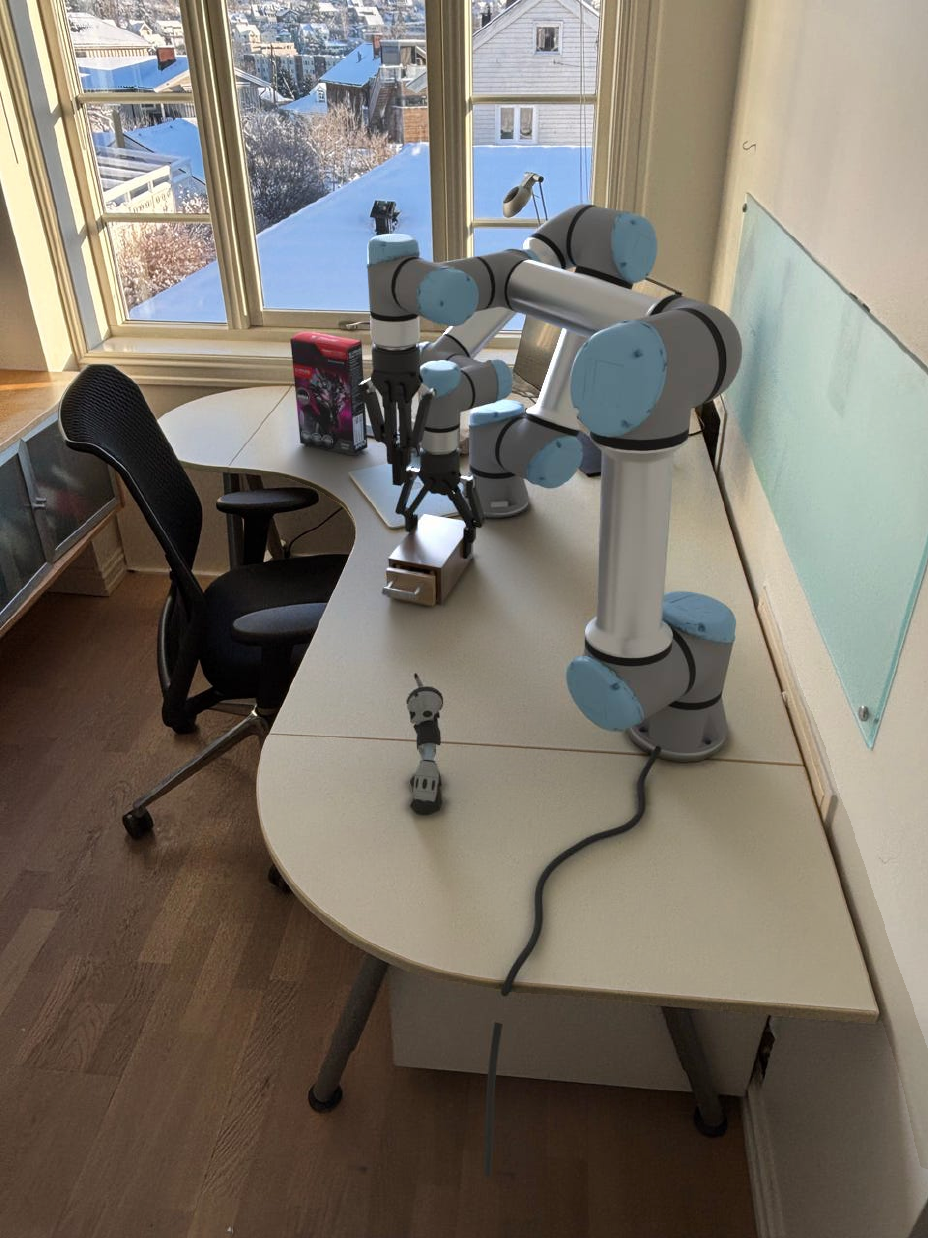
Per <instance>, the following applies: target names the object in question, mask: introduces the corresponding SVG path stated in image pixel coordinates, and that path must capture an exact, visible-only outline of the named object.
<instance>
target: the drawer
mask: <svg viewBox="0 0 928 1238" xmlns="http://www.w3.org/2000/svg"><path fill="white" fill-rule="evenodd" d="M385 575H386V578H385V579H386V586H383V587H382V589H381V594H382V596H383V595H384V596H387V598H391V599H396V600H401V601H405V602H411V603H416V604H421V605H426V606H430V607H431V606H432V607H434V606H435V605H436V604H437V603H436V593H437V571H432V570H427V569H421V568H416V567H411V566H405V565H400V564H396V568H391V567H389V566H388V567H387V568H386V569H385Z"/></svg>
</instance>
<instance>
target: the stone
mask: <svg viewBox="0 0 928 1238" xmlns="http://www.w3.org/2000/svg"><path fill="white" fill-rule="evenodd" d="M416 414H417V413H415V414H412V415H411V417H412V432H413V427H414V423H415V419H416ZM397 432H399V426H397ZM459 449H460V454H463V455H469V428H467V427H460V446H459Z"/></svg>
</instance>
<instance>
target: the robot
mask: <svg viewBox="0 0 928 1238" xmlns="http://www.w3.org/2000/svg"><path fill="white" fill-rule="evenodd" d="M413 677H414V680H415V682H416V685H417V687H416V688H415V689H413V690H412V691H411V692H410V693H408V695H407V697H406V699H405V702H406V705H407V706H406V709H407V710H408V712H409V723H410V724H411V725H412V727H413V729H414V733H416V750H417V751H418V753H419V755H420V761H419V764H418V767H417V768H416V771H415V773H414V774H413V775H412V777H411V778H410V781H409V783H410V785H411V787H412V789H413V790H412V791H413V792H412V793H413V798H412V800H411V802H410V805H409V807H410V808H411V810H413V811H414V812H415V813H416V814H419V815H423V816H424V815H431V814H432V813H435V812H437V811H439V810H440V809H441V806H442V803H443V798H442V796H443V795H442V792H441V789H440V787H441V786H442V777H441V773H440V770H439V766H438V763H437V762H436V760H435V757H436V755H437V746H441V743H442V737H441V730H440V726H439V719H440V718H441V716H440V711H441V710H442V709H443V708H444V707H443V706H444V696H443V695H442V692H441V691H439V690H438V688H435V687H433V686H431V685H424V684H423V682H422V680H421V678H420V677H419V675H418V673H414V674H413Z"/></svg>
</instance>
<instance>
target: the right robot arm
mask: <svg viewBox="0 0 928 1238" xmlns="http://www.w3.org/2000/svg"><path fill="white" fill-rule="evenodd" d="M420 254H421V252H420V247H419V242H418V240H417V239H416V238H415V237H414V236H412V235H409V234H404V233H386V234H385V233H384V234H379V235H376V236H373V237H372V238H371V239H370V240H368V243H367V264H366V269H367V284H368V303H369V314H370V315H369V318H370V323H369V324H370V341H371V342H372V344H371V365H372V372H371V373H370V378H368V379H364V381H363V382H362V383H361V384H359V385H358V390H359V392H360V393H361V395H362V396H363V398H364V401H365V409H366V411H367V415H368V419H369V423H370V426H371V430H372V434H373V437H374V440H375V441H376V442H377V443H382V444H384V445H385V447H386V449H385V450H386V463H387V464H388V465H391V475H392V476H391V477H392V485H393V486H398V487H402V486H403V485H404V482H405V481H406V480H407V469H408V468H409V466H410V465H411V463H412V448H416V447H418V446H419V443H420V442H421V441H422V438H423V434H424V430H425V425H426V421H427V417H428V413H429V408H430V404H431V401H432V400H433V399H434V397H435V396H436V394H437V391H436V389H434V388H432V389H429V388H428V387H427V386H426V385H425V384H423V378H422V376H421V374H420V345H419V344H420V343H419V342H420V339H421V337H420V336H421V335H420V333H421V331H420V330H421V329H420V323H421V322H420V321H421V320H420V317H422V318H424V319H426V320H428V321H430V322H432V323H434V324H438V325H443V326H447V327H450V326H459V325H462V324H464V323H465V322H466V321H467V320H468V319H469V318H470V317H471V316H472V315H473V314H474V312H477V311H481V310H486V309H491V308H495V307H504V308H507V309H509V310H512V311H515V312H518V313H517V314H521V315H525V316H528V317H530V318H533V319H535V320H538V321H541V322H543V323H547V324H548V325H551V326H555V327H557V328H560V329H562V330H563V329H565V330H568V331H571V332H573V333H576V334H579V335H581V336H584V337H587V338H589V339H588V341H587V342H586V343H584V344H583V346H582V347H581V348H580V350H579V352H578V353H577V356H576V358H575V360H574V363H573V366H572V370H571V376H570V395H571V400H572V404H573V407H574V408H577V409H578V410H579V412H578V414H577V419H578V420H579V421H580V423H581V424H582V425H583V426H584V427H585V428H586V429H587V430H588V431H589V440H590V441H591V442H592V443H593V444H594V445H595V447H597V448H598V449H599V450H600V452H601V464H600V467H601V468H600V469H601V470H600V496H599V498H600V499H599V501H600V502H599V529H598V530H599V531H598V532H599V533H598V560H597V561H598V562H597V563H598V567H597V591H596V592H597V593H596V595H597V597H596V616H595V617H594V618H592V619H591V620H590V621H589V622H588V623H587V624H586V626H585V629H584V647H583V648H584V649H583V654H581V655H577V656H576V657H575V658H573V660H572V661H571V662H570V663H569V664H568V665H567V668H566V673H565V679H566V685H567V689H568V692H569V694H570V696H571V698H572V700H573V703H575V705H576V706H577V707H578V709H579V711H580V712H581V713H582V714H583V715H584V716H585V718H587V719H588V721H590V722H591V723H593V724H594V725H595V726H597V727H598V728H600V729H602V730H605V731H607V732H612V733H618V732H624V731H626V732H627V734H628V736H629V738H630V739H631V741H632V742H634V744H636V745H637V746H638V747H639V748H640V749H641V750H643V751H645V752H646V753H648V754H650V756H649V759H648V760H647V761H646V763H645V765H644V767H643V768H642V769H641V772H640V774H639V777H638V780H637V785H636V786H637V787H636V788H637V798H638V801H637V802H638V807H637V808H638V809H637V811H636V813H635V815H634V816H633V817H632V818H631V819H630V820H628V821H627V822H626V823H624V824H622V825H619V826H617V827H614V828H610V829H607V830H604V831H601V832H596V833H594V834H591V835H589V836H587V837H585V838H583V839H581V840H580V841H578V842H577V843H575V844H574V845H572V846H571V847H569V848H567V849H566V850H564V851H563V852H561V853H560V854H558V855H557V856H556V857H555V858H554V859H552V861H550V863H549V864H548V865H547V866H546V867H545V869H544V870H543V872H542V873H541V874H540V876H539V879H538V881H537V883H536V887H535V891H534V914H535V916H534V926H533V929H532V933H531V935H530V938H529V940H528V941H527V943H526V945H525V947H524V948H523V950H522V951H521V952H520V954H519V955H518V957H517V958H516V959H515V961H514V962H513V964H512V966H511V968H510V969H509V971H508V973H507V976H506V977H505V980H504V983H503V985H502V988H501V991H500V994H501V996H502V997H507V996H509V995H510V992H511V989H512V986H513V985H514V982H515V980H516V977H517V975H518V974H519V971H520V970H521V969H522V967H523V965H524V964H525V962H526V961H527V959H528V958H529V956H530V955H531V953H532V952H533V950H534V948H535V947H536V945H537V943H538V940H539V938H540V935H541V932H542V928H543V922H544V921H543V918H544V907H543V892H544V887H545V885H546V883H547V880H548V878H549V877H550V875H551V874H552V873H553V871H555V869H556V868H557V867H558V866H560V865H561V864H562V863H563V862H564V861H566V860H567V859H568V858H570V857H571V856H573V855H575V854H576V853H578V852H579V851H581V850H583V849H584V848H586V847H588V846H589V845H591V844H593V843H595V842H598V841H601V840H604V839H608V838H611V837H614V836H617V835H620V834H623V833H625V832H627V831H628V832H629V830H631V829H632V828H634V827H635V826H637V824H639V823H640V821H641V820H642V818H643V816H644V814H645V810H646V795H645V782H646V778H647V776H648V773H649V772H650V770H651V769H652V767H653V765H654V764H655V762H656V761H657V759H658V758H659V759H662V760H666V761H670V762H675V763H694V762H700V761H703V760H706V759H709V758H711V757H714V755H716V754H718V752H720V751H721V750H722V748H723V747H724V744H725V743H726V740H727V739H726V738H727V734H728V721H727V716H726V712H725V708H724V707H725V706H724V701H723V692H724V686H725V682H726V678H727V674H728V669H729V664H730V659H731V654H732V651H733V647H734V642H735V641H736V627H737V619H736V617H735V615H734V613H733V611H732V609H730V607H728V606H727V605H726V604H725V603H723V602H722V601H720V600H719V599H717V598H714V597H712V596H709V595H707V594H703V593H699V592H693V591H687V590H686V591H685V590H676V591H675V590H673V591H669V592H665V587H666V574H667V573H666V572H667V560H668V558H667V557H668V546H669V535H670V533H669V531H670V520H671V519H670V517H671V503H672V491H673V477H674V462H675V454H676V452H677V451H678V450H679V449H681V448H682V447H683V446H684V445H686V444H687V443H688V442H689V437H690V425H691V414H692V410H693V409H696V408H698V407H700V406H702V405H705V404H707V403H709V402H712V401H714V400H715V399H717V398H718V397H720V396H721V395H722V394H724V393H725V392H726V390H728V389H729V388H730V386H731V385H732V384H733V382H734V380H735V378H736V377H737V375H738V373H739V371H740V367H741V362H742V360H743V359H742V358H743V345H742V339H741V335H740V332H739V330H738V328H737V326H736V324H735V323H734V321H733V320H732V318H730V317H729V315H728V314H727V313H726V312H725V311H723V310H721V309H719V308H718V307H717V306H714V305H713V304H710V303H707V302H703V301H700V300H697V299H695V298H694V299H693V298H691V297H688V296H683V295H680V294H676V293H672V294H671V293H670V294H667V295H665V296H663V297H661V298H660V297H656V296H653V295H650V294H646V293H644V292H641V291H640V292H639V291H637V290H633V289H631V290H630V289H627V288H623V287H620V286H617V285H613V284H610V283H607V282H603V281H600V280H597V279H593V278H590V277H587V276H583V275H580V274H577V273H574V271H570V270H568V269H567V270H563V269H560V268H557V267H553V266H550V265H547V264H543V263H542V261H541V260H540V258H539V257H537V255H536V254H535V252H533V251H532V250H530V249H525V248H524V247H523V248H507V249H503V250H500V251H496V252H489V253H486V254H481V255H475V256H470V257H469V256H468V257H464V258H457V259H453V260H452V259H451V260H448V261H447V260H446V261H442V262H435V261H430V260H426V259H425V258H422V257H420ZM376 390H377V391H376ZM418 390H419V393H420V394H419V399H420V400H421V401H420V403H419V402H418V406H417V410H416V413H415V414H416V419H415V423H414V427H413V432H412V417H411V416H412V404H413V398H414V397H415V395H416V394H418ZM377 392H378V393H377ZM378 394H379V395H380V396H381V402H382V403H381V404H380V400H379V396H378ZM381 405H382V406H381ZM381 407H382V408H383V413H382V408H381ZM398 427H399V431H398ZM398 433H399V435H398ZM398 441H399V442H398ZM407 467H408V468H407ZM502 1030H503V1023H500V1022H494V1025H493V1031H492V1038H491V1043H490V1045H491V1046H490V1053H489V1061H488V1071H487V1083H486V1084H487V1085H486V1107H485V1108H486V1109H485V1112H486V1113H485V1149H484V1150H485V1153H484V1172H483V1173H484V1176H485V1177H491V1175H492V1168H493V1147H494V1146H493V1145H494V1118H495V1117H494V1116H495V1115H494V1114H495V1092H496V1091H495V1090H496V1079H497V1078H496V1077H497V1068H498V1067H497V1066H498V1059H499V1058H498V1057H499V1051H500V1043H501V1037H502V1036H501V1035H502Z"/></svg>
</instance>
